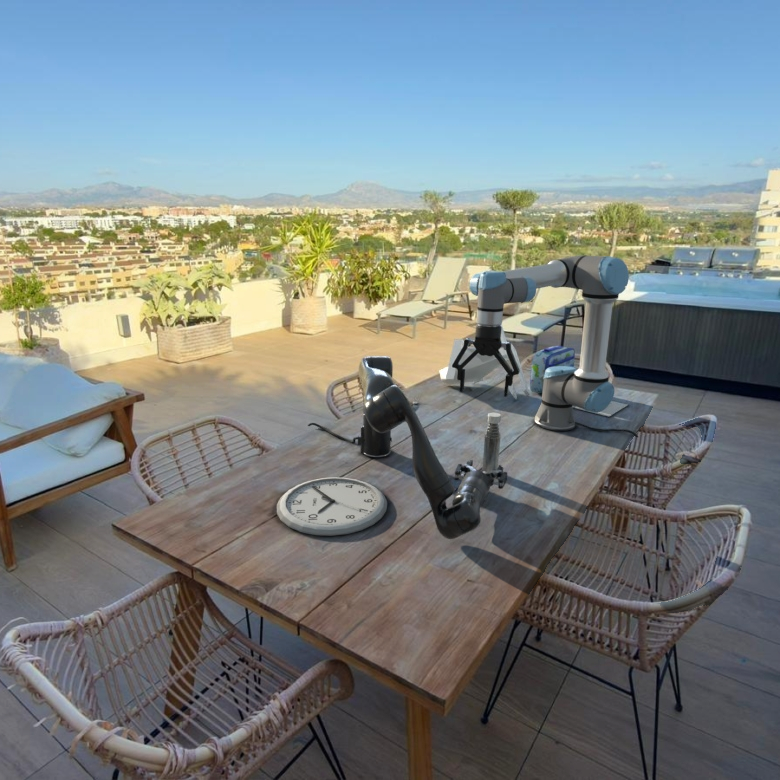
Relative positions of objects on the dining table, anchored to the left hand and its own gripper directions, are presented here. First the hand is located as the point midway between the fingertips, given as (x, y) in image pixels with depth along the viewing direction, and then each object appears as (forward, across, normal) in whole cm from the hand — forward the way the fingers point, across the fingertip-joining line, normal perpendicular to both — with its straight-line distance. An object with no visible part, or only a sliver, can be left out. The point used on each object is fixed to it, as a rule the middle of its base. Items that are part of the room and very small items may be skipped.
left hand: (485, 465), depth 154 cm
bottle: (+8, 0, +6) cm, 10 cm away
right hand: (+12, +4, -18) cm, 22 cm away
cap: (+8, 0, -13) cm, 15 cm away
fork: (+58, +43, +6) cm, 72 cm away
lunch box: (+106, -10, +6) cm, 107 cm away
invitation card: (+91, -32, +6) cm, 97 cm away
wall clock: (-29, +36, +6) cm, 46 cm away
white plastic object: (+90, +21, +6) cm, 92 cm away
